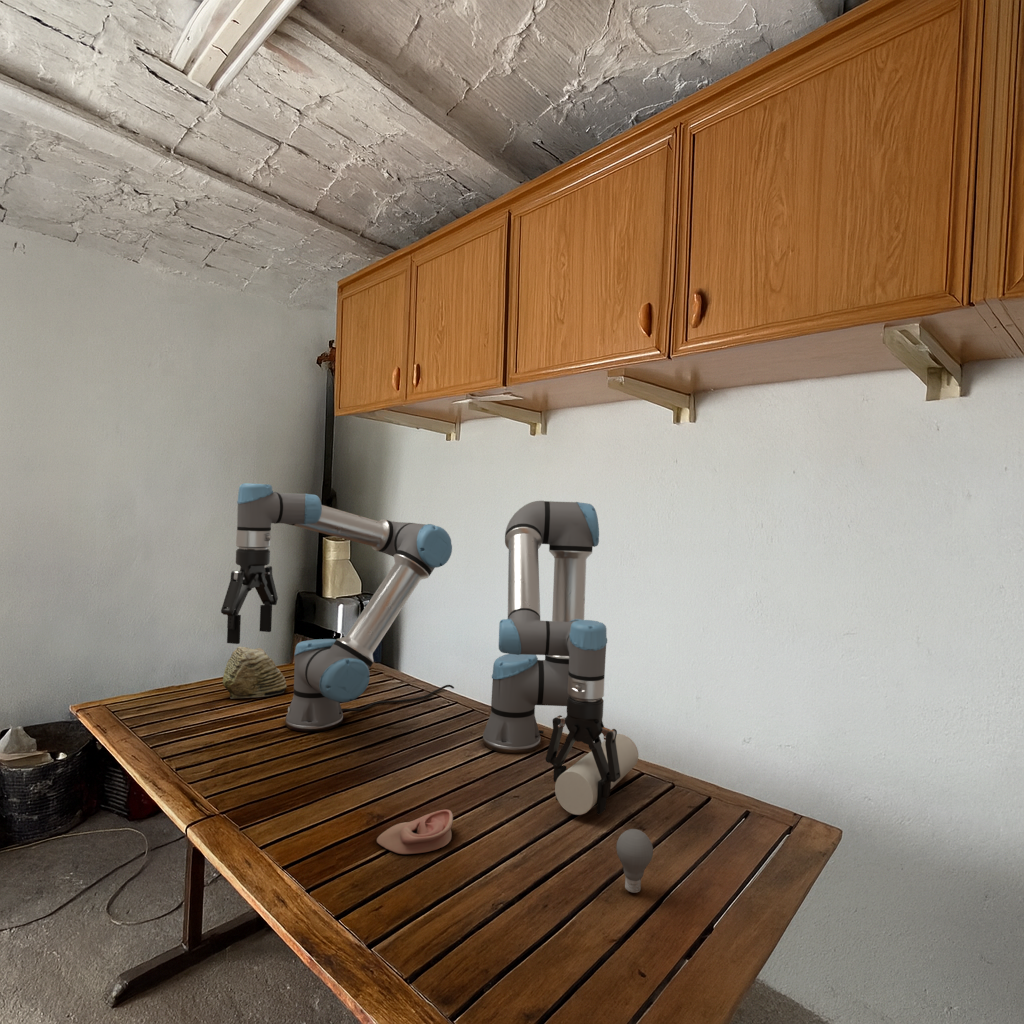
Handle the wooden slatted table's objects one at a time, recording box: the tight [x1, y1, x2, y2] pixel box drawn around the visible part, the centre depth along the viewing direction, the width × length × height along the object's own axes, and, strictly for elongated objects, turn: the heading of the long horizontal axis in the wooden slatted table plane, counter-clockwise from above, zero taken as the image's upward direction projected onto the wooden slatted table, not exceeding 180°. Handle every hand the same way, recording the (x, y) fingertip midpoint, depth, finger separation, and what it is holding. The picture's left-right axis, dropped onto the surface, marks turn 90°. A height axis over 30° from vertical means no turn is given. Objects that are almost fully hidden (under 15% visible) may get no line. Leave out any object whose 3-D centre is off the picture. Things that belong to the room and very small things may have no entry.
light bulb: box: [615, 828, 654, 894], centre depth 106 cm, size 6×6×10 cm
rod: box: [554, 733, 639, 816], centre depth 140 cm, size 26×9×9 cm, turn 149°
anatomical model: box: [376, 809, 454, 855], centre depth 119 cm, size 13×4×12 cm
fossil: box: [222, 646, 288, 699], centre depth 198 cm, size 9×18×15 cm, turn 132°
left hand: (250, 637), depth 151 cm, fingers open, 13 cm apart
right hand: (580, 804), depth 131 cm, fingers closed on rod, 9 cm apart
